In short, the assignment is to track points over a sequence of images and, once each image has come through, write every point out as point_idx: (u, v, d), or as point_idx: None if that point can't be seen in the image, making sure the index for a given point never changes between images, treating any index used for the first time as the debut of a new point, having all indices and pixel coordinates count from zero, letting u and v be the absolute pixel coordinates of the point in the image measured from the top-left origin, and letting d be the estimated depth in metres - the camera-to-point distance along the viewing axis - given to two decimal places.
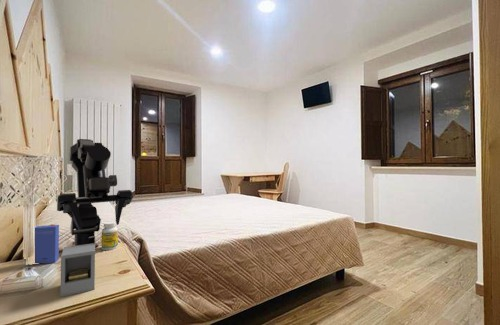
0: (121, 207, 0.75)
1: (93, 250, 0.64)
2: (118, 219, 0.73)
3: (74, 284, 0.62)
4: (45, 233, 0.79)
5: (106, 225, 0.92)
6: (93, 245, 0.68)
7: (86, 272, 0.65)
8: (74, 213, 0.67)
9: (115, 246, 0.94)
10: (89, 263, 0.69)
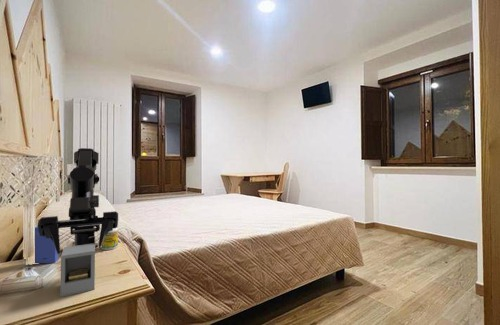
0: (104, 229, 0.72)
1: (93, 250, 0.64)
2: (100, 241, 0.69)
3: (74, 284, 0.62)
4: None
5: None
6: (93, 245, 0.68)
7: (86, 272, 0.65)
8: (53, 236, 0.65)
9: (115, 246, 0.94)
10: (89, 263, 0.69)
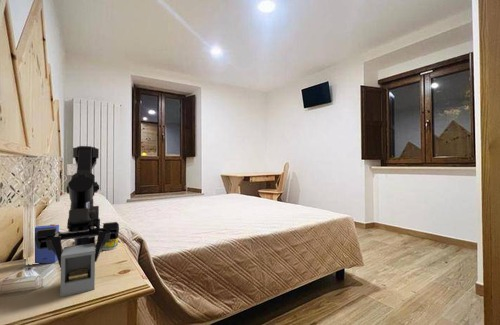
0: (101, 241, 0.69)
1: (93, 250, 0.64)
2: (96, 255, 0.66)
3: (74, 284, 0.62)
4: None
5: None
6: (93, 245, 0.68)
7: (86, 272, 0.65)
8: (56, 249, 0.63)
9: (115, 246, 0.94)
10: (89, 263, 0.69)
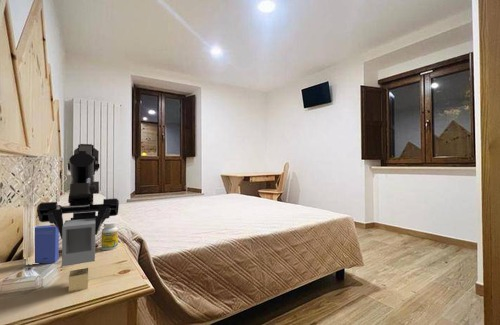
0: (101, 216, 0.70)
1: (93, 223, 0.66)
2: (96, 228, 0.68)
3: (75, 255, 0.64)
4: (45, 233, 0.79)
5: (106, 225, 0.92)
6: (93, 219, 0.70)
7: (86, 272, 0.65)
8: (57, 221, 0.65)
9: (115, 246, 0.94)
10: (90, 237, 0.70)
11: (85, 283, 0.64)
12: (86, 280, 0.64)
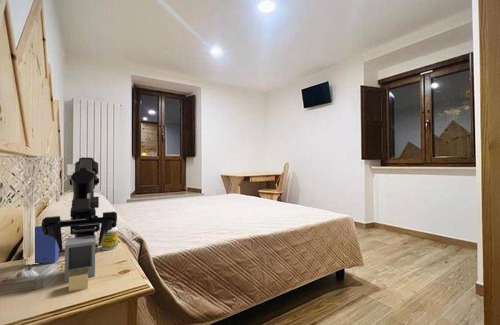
0: (104, 228, 0.76)
1: (94, 241, 0.72)
2: (100, 240, 0.74)
3: None
4: None
5: None
6: (94, 237, 0.75)
7: (86, 272, 0.65)
8: (56, 235, 0.70)
9: (115, 246, 0.94)
10: (90, 253, 0.76)
11: (85, 283, 0.64)
12: (86, 280, 0.64)
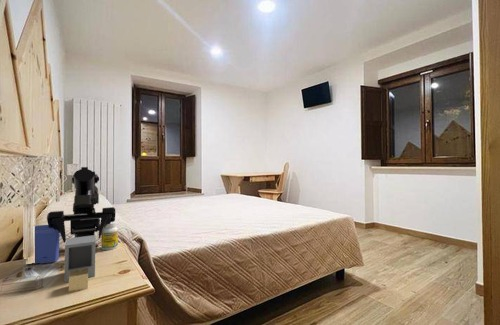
0: (103, 222, 0.84)
1: (94, 241, 0.72)
2: (100, 233, 0.81)
3: None
4: (46, 231, 0.80)
5: None
6: (94, 237, 0.75)
7: (86, 272, 0.65)
8: (60, 227, 0.77)
9: (115, 246, 0.94)
10: (90, 253, 0.76)
11: (85, 283, 0.64)
12: (86, 280, 0.64)
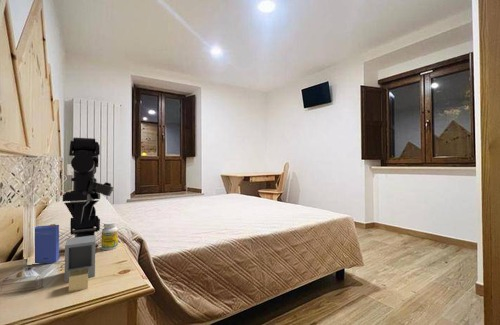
0: (92, 207, 0.87)
1: (94, 241, 0.72)
2: (89, 217, 0.86)
3: None
4: (45, 233, 0.79)
5: (106, 225, 0.92)
6: (94, 237, 0.75)
7: (86, 272, 0.65)
8: (82, 210, 0.76)
9: (115, 246, 0.94)
10: (90, 253, 0.76)
11: (85, 283, 0.64)
12: (86, 280, 0.64)
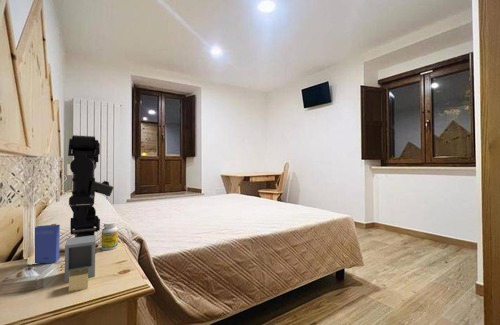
0: None
1: (94, 241, 0.72)
2: None
3: None
4: (46, 232, 0.79)
5: (106, 225, 0.92)
6: (94, 237, 0.75)
7: (86, 272, 0.65)
8: (87, 212, 0.76)
9: (115, 246, 0.94)
10: (90, 253, 0.76)
11: (85, 283, 0.64)
12: (86, 280, 0.64)
